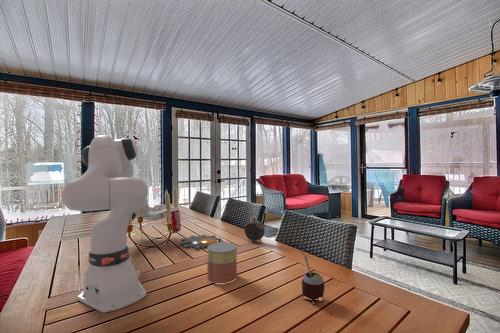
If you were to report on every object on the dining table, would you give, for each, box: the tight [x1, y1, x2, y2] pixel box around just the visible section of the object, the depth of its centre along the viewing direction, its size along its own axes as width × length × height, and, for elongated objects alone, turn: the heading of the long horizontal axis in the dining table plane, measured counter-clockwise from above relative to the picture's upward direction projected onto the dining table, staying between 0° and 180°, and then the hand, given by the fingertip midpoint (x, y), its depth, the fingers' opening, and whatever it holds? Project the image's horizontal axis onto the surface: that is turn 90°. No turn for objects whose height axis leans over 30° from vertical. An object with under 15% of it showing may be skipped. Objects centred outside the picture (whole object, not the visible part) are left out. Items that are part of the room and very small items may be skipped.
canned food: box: [206, 241, 238, 283], centre depth 97 cm, size 11×11×12 cm
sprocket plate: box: [179, 234, 222, 250], centre depth 138 cm, size 22×22×2 cm
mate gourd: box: [299, 248, 325, 302], centre depth 82 cm, size 8×8×15 cm
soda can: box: [166, 207, 182, 234], centre depth 144 cm, size 7×7×13 cm
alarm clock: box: [244, 212, 265, 242], centre depth 139 cm, size 11×5×16 cm, turn 58°
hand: (175, 214), depth 142 cm, fingers closed on soda can, 5 cm apart
